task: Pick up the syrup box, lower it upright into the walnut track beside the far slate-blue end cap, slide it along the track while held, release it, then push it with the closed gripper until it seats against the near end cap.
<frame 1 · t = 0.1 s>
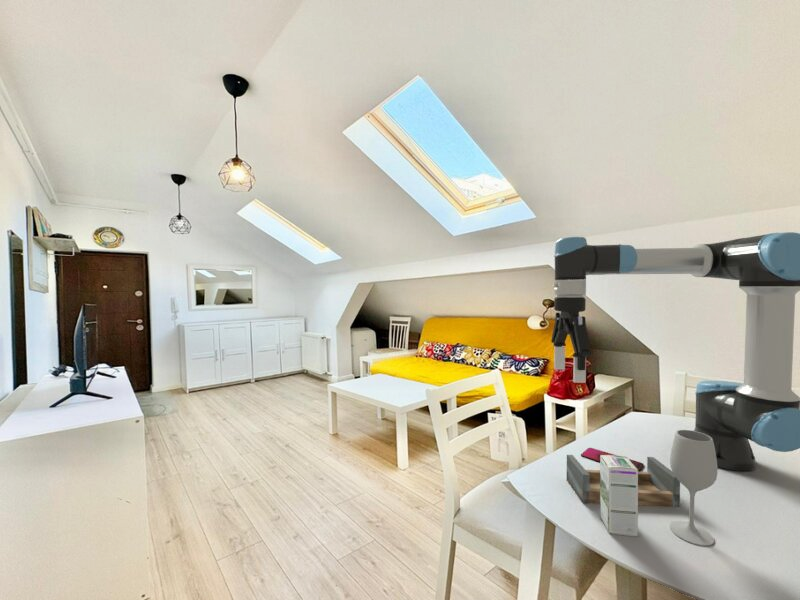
hand: (568, 375, 96), 28 cm above the table, fingers open, 13 cm apart
smartphone: (611, 462, 106), on the table
track: (619, 492, 90), on the table
syrup box: (617, 527, 77), on the table
wineglass: (691, 534, 75), on the table
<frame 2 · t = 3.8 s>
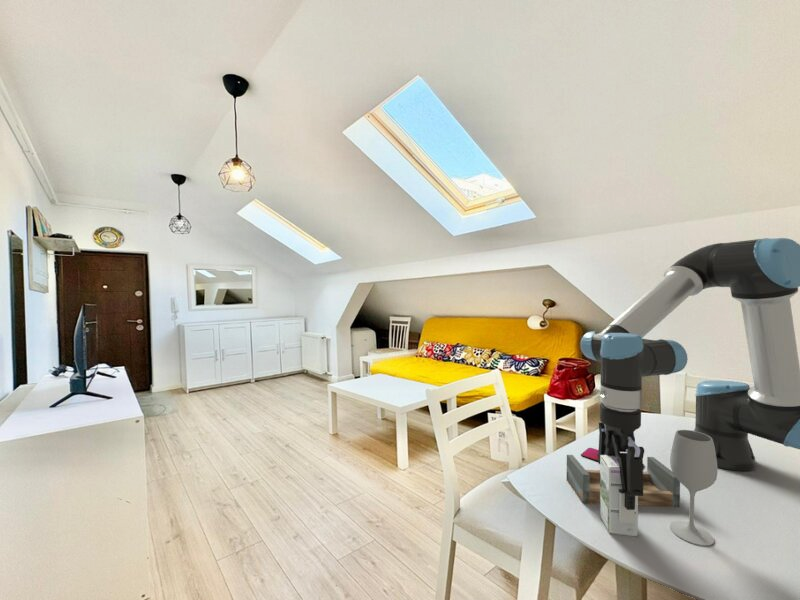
hand: (617, 511, 77), 3 cm above the table, fingers closed on syrup box, 6 cm apart
syrup box: (617, 527, 77), on the table, touching gripper
everything else where it was.
when the fingers open (5 cm above the table, at t = 11.8 s): syrup box moves 1 cm, resting on track.
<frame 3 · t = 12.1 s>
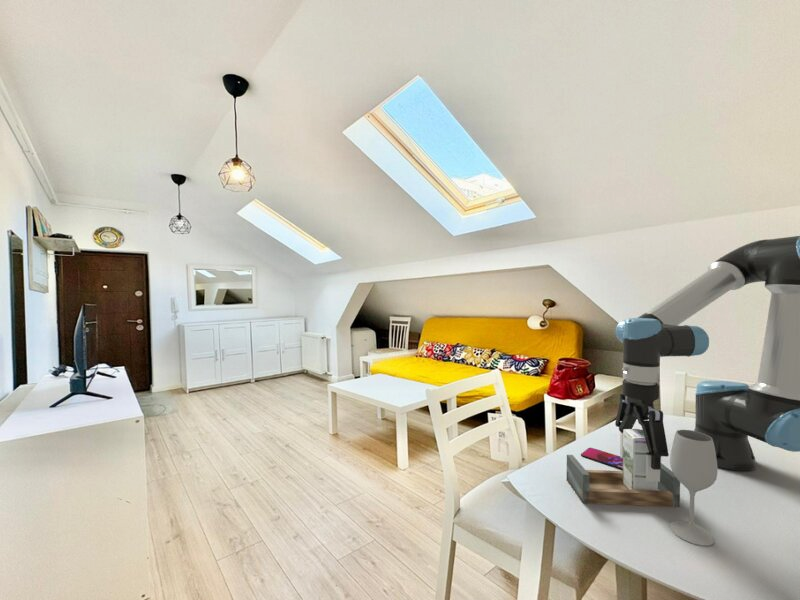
hand: (638, 468, 89), 6 cm above the table, fingers open, 10 cm apart
syrup box: (639, 491, 89), point 1 cm above the table, touching track
everything else where it was.
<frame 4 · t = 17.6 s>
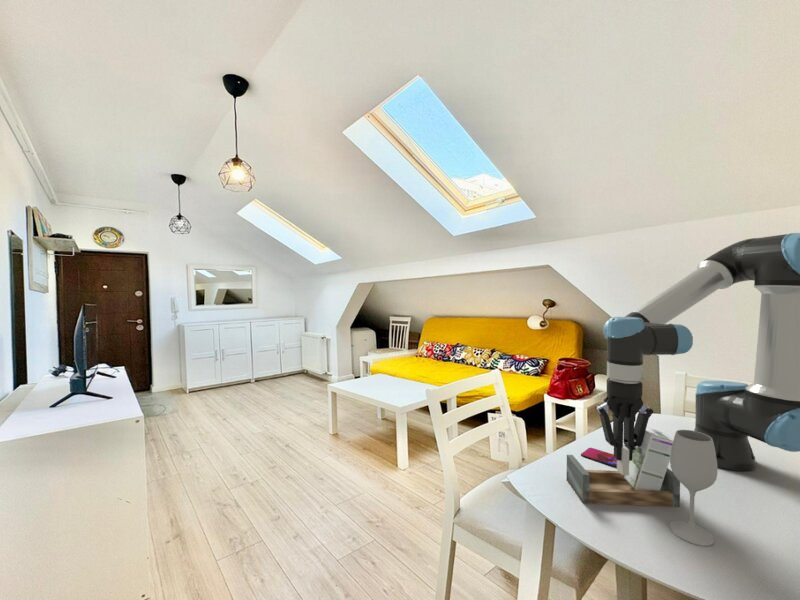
hand: (622, 472, 89), 5 cm above the table, fingers closed
syrup box: (639, 488, 89), point 2 cm above the table, touching hand, track
everything else where it was.
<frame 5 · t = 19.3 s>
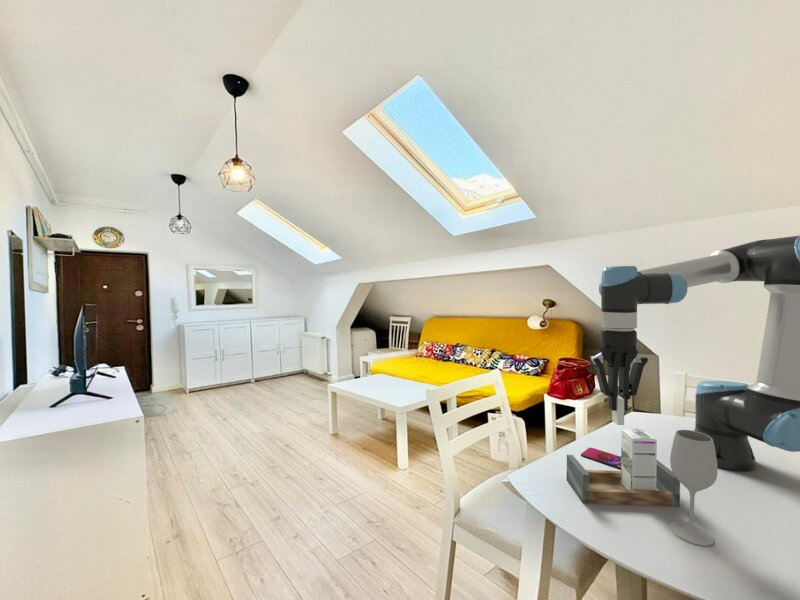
hand: (618, 422, 89), 18 cm above the table, fingers closed
syrup box: (637, 491, 89), point 1 cm above the table, touching track
everything else where it was.
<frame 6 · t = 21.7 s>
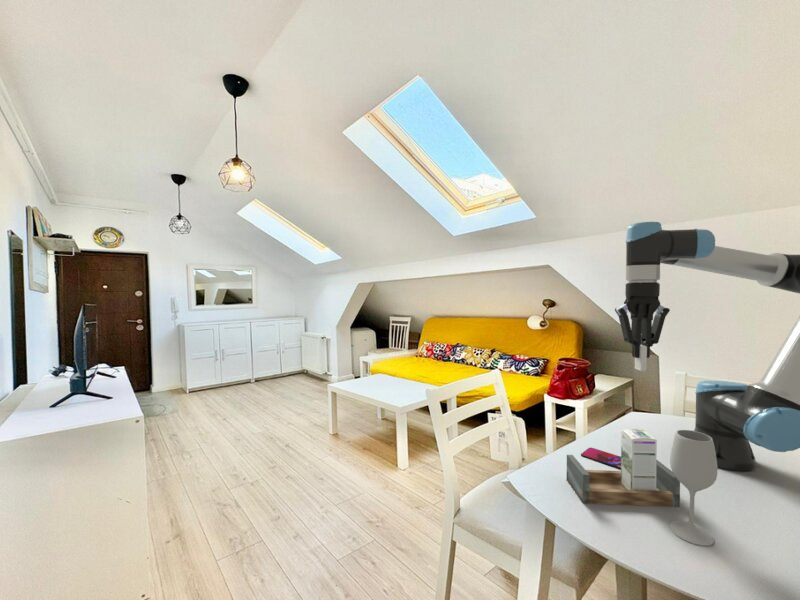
hand: (640, 369, 96), 29 cm above the table, fingers closed
nothing on the table moved.
at the end: syrup box 1.7 cm from the target spot on the track, point 0.8 cm above the track's base; syrup box tilted 0°; the gripper is holding nothing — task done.
